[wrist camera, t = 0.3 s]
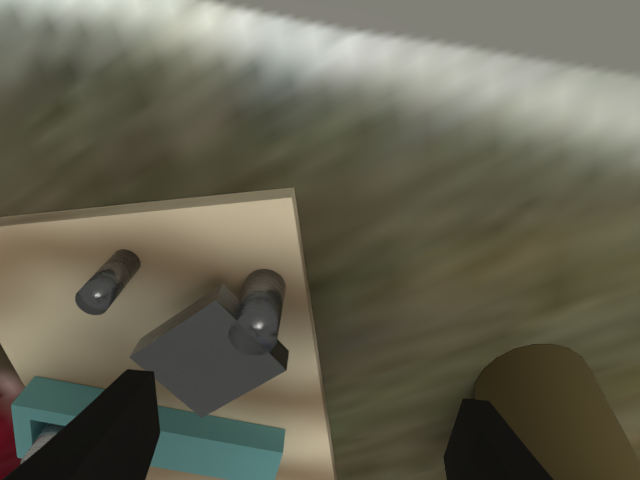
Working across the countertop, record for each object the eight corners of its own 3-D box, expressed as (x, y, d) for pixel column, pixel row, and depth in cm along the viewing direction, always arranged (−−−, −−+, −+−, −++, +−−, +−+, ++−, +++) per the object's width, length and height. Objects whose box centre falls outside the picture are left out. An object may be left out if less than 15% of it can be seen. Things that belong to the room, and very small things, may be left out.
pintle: (92, 417, 23) (56, 475, 20) (67, 419, 23) (28, 477, 20) (82, 398, 22) (44, 455, 19) (57, 399, 22) (15, 457, 19)
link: (39, 427, 23) (17, 457, 22) (34, 376, 21) (10, 404, 20) (273, 468, 24) (269, 500, 23) (287, 423, 23) (284, 453, 21)
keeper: (223, 345, 22) (198, 419, 18) (118, 245, 19) (62, 305, 15) (310, 292, 20) (305, 360, 16) (208, 176, 18) (171, 221, 14)
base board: (338, 488, 27) (338, 507, 26) (108, 500, 28) (100, 519, 27) (294, 187, 18) (291, 197, 17) (-41, 220, 19) (-63, 232, 18)
